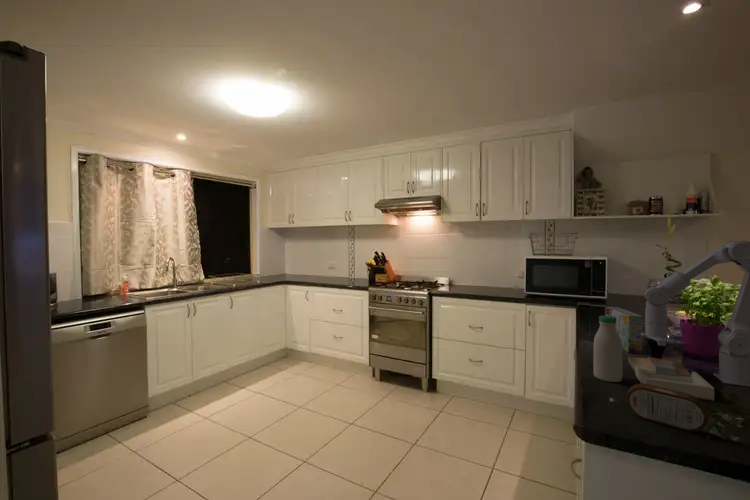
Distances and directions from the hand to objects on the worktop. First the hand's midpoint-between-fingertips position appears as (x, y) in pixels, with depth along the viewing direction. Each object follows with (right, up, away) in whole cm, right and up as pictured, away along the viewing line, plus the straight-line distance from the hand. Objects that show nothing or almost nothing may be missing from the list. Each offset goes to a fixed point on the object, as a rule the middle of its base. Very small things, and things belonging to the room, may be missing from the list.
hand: (656, 361), depth 116 cm
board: (-1, -3, -2) cm, 4 cm away
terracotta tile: (-2, -1, -3) cm, 4 cm away
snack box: (+8, -3, +27) cm, 28 cm away
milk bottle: (-22, -3, -7) cm, 23 cm away
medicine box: (+23, -2, +30) cm, 38 cm away
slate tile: (-4, -1, -8) cm, 9 cm away
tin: (-27, -4, -35) cm, 44 cm away
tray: (-8, -3, -15) cm, 17 cm away
